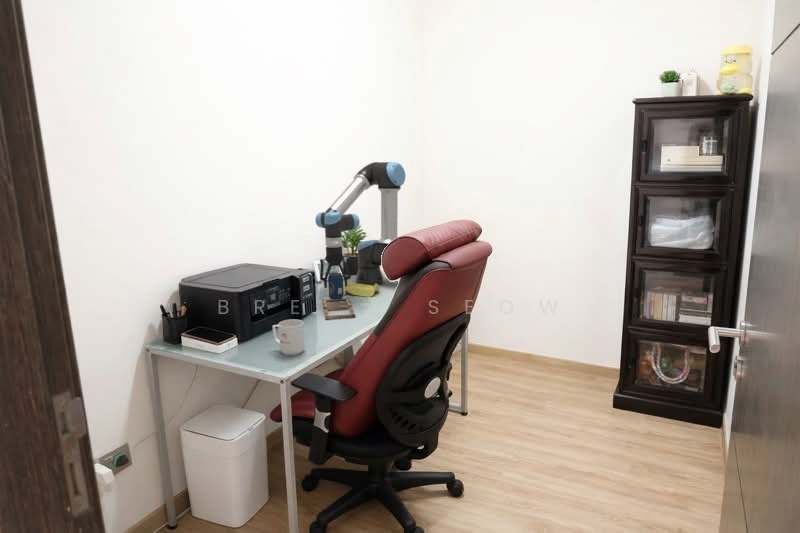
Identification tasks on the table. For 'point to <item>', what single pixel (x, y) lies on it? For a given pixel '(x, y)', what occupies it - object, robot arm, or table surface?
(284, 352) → the mug
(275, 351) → the table surface
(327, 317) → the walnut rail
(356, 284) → the plastic component
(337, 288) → the soda can
